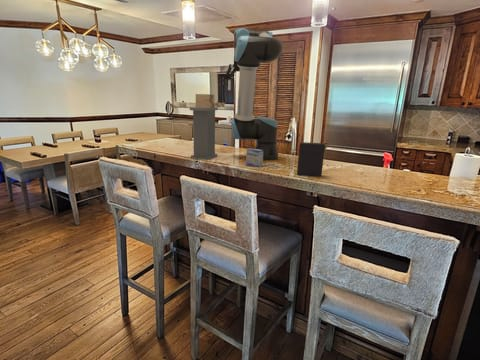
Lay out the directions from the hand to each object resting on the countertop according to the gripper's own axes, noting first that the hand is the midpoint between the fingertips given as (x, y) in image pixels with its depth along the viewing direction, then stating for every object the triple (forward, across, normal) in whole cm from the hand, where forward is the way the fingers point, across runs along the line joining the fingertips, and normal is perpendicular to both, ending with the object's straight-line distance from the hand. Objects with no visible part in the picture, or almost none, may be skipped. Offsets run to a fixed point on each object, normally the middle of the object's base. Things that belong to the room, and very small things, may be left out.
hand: (238, 90), depth 191 cm
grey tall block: (+39, +4, +41) cm, 57 cm away
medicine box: (+39, -29, +48) cm, 68 cm away
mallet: (+11, +4, +30) cm, 32 cm away
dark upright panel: (+39, -58, +54) cm, 88 cm away
